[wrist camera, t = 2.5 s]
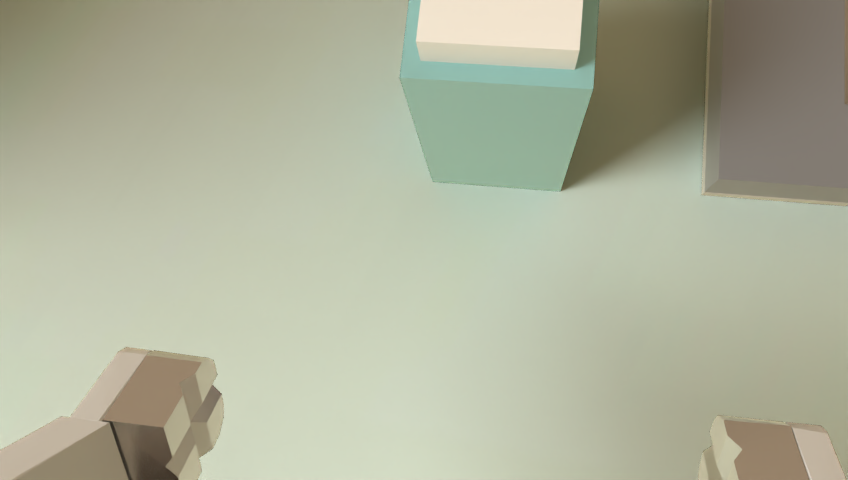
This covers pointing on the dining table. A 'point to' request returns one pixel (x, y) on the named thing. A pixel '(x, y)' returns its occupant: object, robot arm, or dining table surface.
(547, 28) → the plug
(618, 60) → the dining table surface
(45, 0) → the dining table surface
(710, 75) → the socket plate
